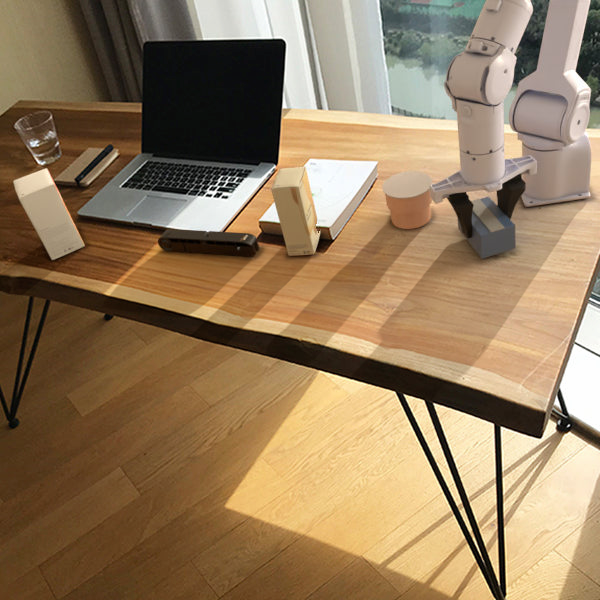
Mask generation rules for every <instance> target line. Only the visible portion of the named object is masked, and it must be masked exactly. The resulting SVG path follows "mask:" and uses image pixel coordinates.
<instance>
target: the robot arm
mask: <svg viewBox="0 0 600 600" xmlns="http://www.w3.org/2000/svg"><path fill="white" fill-rule="evenodd" d="M590 5H591V0H549V3H548V9H547V12H546V19H545V24H544V29H543V35H542V40H541V44H540V50H539V56H538V60H537V66H536V69H535V70H534V71H533V72H531V73H530V74H529V75H527V76H526V77H524V78H522V79H521V80H520V81H519V82H518V85H517V89H516V92H515V96H514V97H513V100H512V102H511V104H510V108H509V111H508V123H509V127H510V129H511V130H512V132H515V133H517V140H518V141H520V142H521V156H519V157H512V158H505V155H506V154H505V114H504V113H505V111H504V107H505V106H504V100H505V98H506V97H507V96H508V95H509V91H511V89H512V87H513V83H514V79H515V78H514V77H515V67H516V64H517V59H518V57H517V56H516V55H515V54H516V51H517V50H518V47H519V44H520V42H521V40H522V38H523V36H524V33H525V31H526V29H527V26H528V24H529V21H530V20H531V17H532V15H533V12H534V6H533V4H532V0H485V2H484V4H483V6H482V8H481V11H480V13H479V16H478V18H477V19H476V23H475V25H474V27H473V29H472V32H471V34H470V37H469V39H468V41H467V44H466V46H465V49H464V50H463V51H462V52H460V53H459V54H457V55H455V56H454V57H453V58H452V59H451V61H450V63H449V64H448V67H447V70H446V75H445V81H444V82H443V85H444V91H445V93H446V95H447V96H448V97H449V98H450V100H451V108H452V110H453V111H454V112H455V113H456V119H457V120H456V121H457V134H458V149H459V164H460V165H459V166H460V170H458V171H456V172H454V173H453V174H451V175H448V176H447V177H445V178H443V179H442V180H439V181H438V182H435V183H433V184H432V185H430V186H429V187H430V197H431V198H432V202H433V203H434V204H435V205H437V204H440V203H443V201H444V199H447V201H448V202H449V204H450V206H451V207H452V209H453V211H454V213H455V215H456V217H457V220H458V219H459V222H460V225H461V228H462V232H463V234H464V235H465V236H466V237H467V238H468V239H469V238H472V211H473V206H474V204H473V203H472V202H471V201H472V200H471V199H470V196H469V194H467V193H469V192H470V193H471V192H479V191H486V192H487V193H495V192H496V198H497V203H496V205H497V206H498V207H499V208H500V209H501V210H502V211H503V212H504V213H505V215H506V216H507V217H508V218H509V219H510V220H511V219H512V217H513V213H514V210H515V208H516V206H517V204H518V202H519V200H520V199H521V200H522V202H523V205H524V207H537V206H543V205H548V204H556V203H562V202H569V201H575V200H582V199H583V200H584V199H590V197H591V193H590V185H591V172H592V169H591V168H592V144H591V140H590V137H589V134H588V133H587V131H586V130H587V128H588V125H589V122H590V115H591V110H590V101H591V95H592V94H591V93H592V89H591V88H590V86H589V85H588V84H587V83H586V82H585V80H583V79H582V77H581V76H580V75H579V74H578V73H577V71H576V70H577V66H578V60H579V56H580V52H581V51H580V50H581V47H582V46H581V45H582V42H583V38H584V32H585V28H586V24H587V18H588V15H589V10H590ZM511 221H512V220H511ZM462 232H461V233H462ZM463 234H462V235H463ZM464 235H463V236H464ZM465 236H464V237H465Z"/></svg>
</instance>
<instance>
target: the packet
mask: <svg viewBox="0 0 600 600" xmlns="http://www.w3.org/2000/svg"><path fill="white" fill-rule="evenodd" d="M470 201H471V202H472V203H473V204H474V206H473V211H472V238H469V239H468V238H467V237H466V236H465V235H464V234H463V232H462V228H461V225H460V222H459V219H458V218H457V228H458V230H459V231H460V233H461V234H462V235H463V236H464V238H465V239H466V240H467V242H468V243H469V244H470V246H471V247H472V248H473V249H474V251H475V252H476V253H477V255H478V256H479V257H480V259H483V260H484V259H485V258H489V257H492V256H497V255H499V254H502V253H505V252H508V251H512V250H515V249H516V225H515V223H514V222H513V221H512V220H510V219H509V218H508V217H507V216H506V215H505V213H504V212H503V211H502V210H501V209H500V208H499V207H498V206H497V203H496V202H495V201H494V200H493V199H492V198H491V197H490V196H485V197H481V198H476V199H472V200H470Z"/></svg>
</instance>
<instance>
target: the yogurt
mask: <svg viewBox="0 0 600 600" xmlns="http://www.w3.org/2000/svg"><path fill="white" fill-rule="evenodd" d="M432 184H434V183H433V178H432V176H430V175H429V174H428V173H426V172H423V171H418V170H407V171H406V170H405V171H401V172H398V173H397V172H396V173H395V174H393V175H391V176H389V177H388V178H386V179H385V180H384V181H383V183H382V185H381V186H382V187H381V188H382V193H384V197H385V203H386V207H387V209H388V210H389V212H390V219H391V223H392V224H393V226H394V227H396V228H399V229H402V230H403V229H404V230H413V229H417V228H421V227H423V226H425V225H426V224H428V223H429V222H430V221H431V218H432V208H431V204H432V202H433V200H432V198H431V197H430V187H429V186H430V185H432Z"/></svg>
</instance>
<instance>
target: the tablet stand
mask: <svg viewBox="0 0 600 600" xmlns="http://www.w3.org/2000/svg"><path fill="white" fill-rule="evenodd" d="M157 245H158V246H159V248H160V249H161V250H163V251H165V252H169V253H170V252H171V253H187V254H192V253H195V254H209V255H210V254H211V255H222V256H223V255H225V256H236V257H238V256H239V257H255V256H256V255H257V252H259V250H260V245H259V242H258V237H256V235H254V234H253V233H249V232H234V231H233V232H232V231H216V230H215V231H213V230H209V231H207V230H198V229H197V230H195V229H177V228H176V229H175V228H168V229H165V231H164V232H163V233H162V234H161V235H160V237H159V238H158V239H157Z"/></svg>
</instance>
